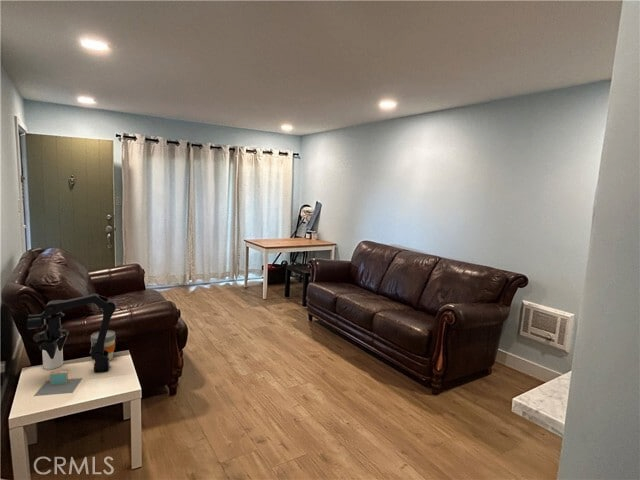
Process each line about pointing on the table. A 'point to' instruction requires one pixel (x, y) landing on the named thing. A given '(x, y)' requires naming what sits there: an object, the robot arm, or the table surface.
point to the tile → (59, 377)
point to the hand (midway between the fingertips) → (56, 354)
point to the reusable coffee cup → (106, 342)
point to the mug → (52, 363)
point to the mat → (58, 387)
